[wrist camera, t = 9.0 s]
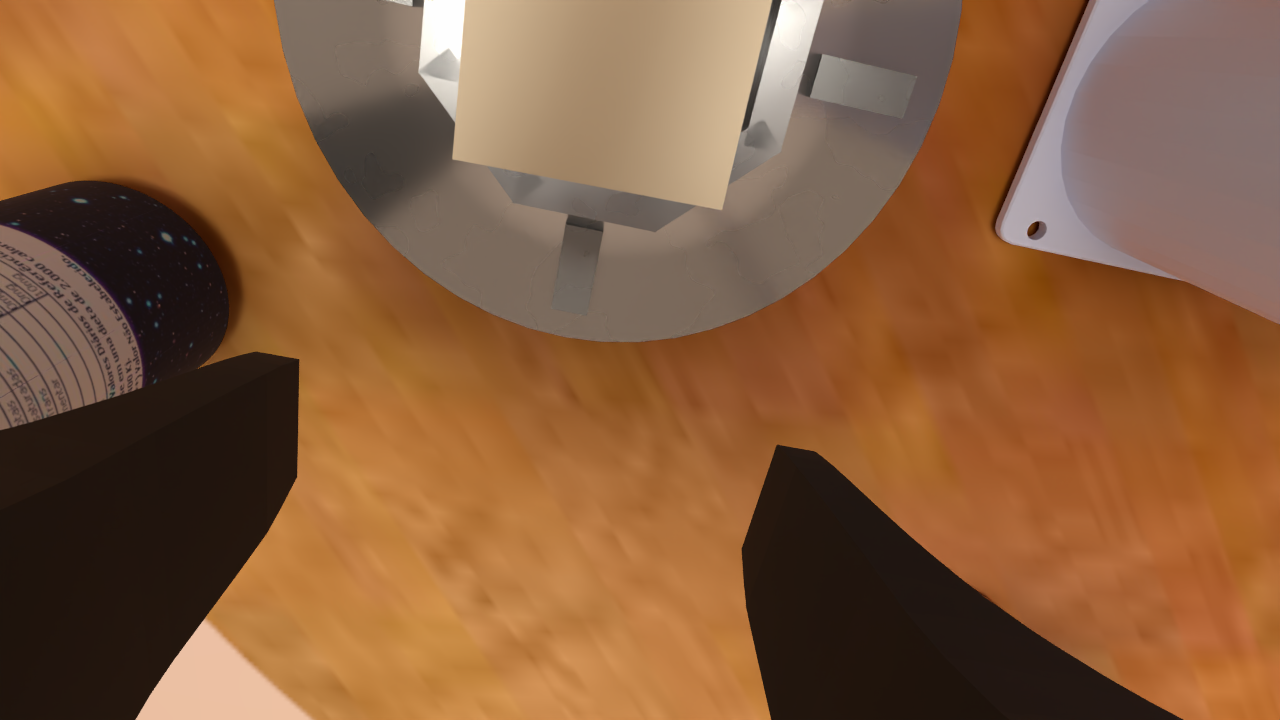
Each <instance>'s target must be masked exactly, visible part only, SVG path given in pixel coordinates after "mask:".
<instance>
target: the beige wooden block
mask: <svg viewBox="0 0 1280 720" xmlns="http://www.w3.org/2000/svg"><path fill="white" fill-rule="evenodd" d="M771 3H772V0H465V10H464V22H463V34H462V47H461V59H460V71H459V84H458V96H457V108H456V120H455V133H454V145H453V157H452V159H454V160H459V161H464V162H470V163H475V164H480V165H485V166H491V167H496V168H501V169H507V170H512V171H517V172H522V173H528V174H533V175H538V176H543V177H549V178H554V179H559V180H565V181H570V182H575V183H580V184H586V185H591V186H596V187H602V188H607V189H612V190H617V191H623V192H628V193H633V194H638V195H644V196H649V197H654V198H660V199H665V200H670V201H675V202H681V203H686V204H691V205H697V206H702V207H707V208H712V209H718V210H722V208H723V204H724V199H725V195H726V191H727V187H728V183H729V179H730V174H731V170H732V166H733V162H734V158H735V154H736V149H737V145H738V141H739V137H740V133H741V128H742V124H743V120H744V116H745V112H746V108H747V103H748V99H749V95H750V91H751V87H752V83H753V78H754V74H755V70H756V66H757V62H758V58H759V53H760V49H761V45H762V41H763V37H764V33H765V28H766V24H767V20H768V16H769V12H770V8H771Z"/></svg>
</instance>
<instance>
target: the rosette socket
mask: <svg viewBox="0 0 1280 720" xmlns="http://www.w3.org/2000/svg"><path fill="white" fill-rule="evenodd" d="M274 3H275V8H276V14H277V20H278V25H279V31H280V36H281V42H282V48H283V52H284V55H285V59H286V62H287V65H288V69H289V72H290V75H291V79H292V82H293V85H294V89H295V92H296V95H297V98H298V100H299V103H300V105H301V107H302V110H303V112H304V114H305V117H306V119H307V121H308V124H309V126H310V128H311V131H312V133H313V135H314V138H315V140H316V142H317V144H318V145H319V147H320V149H321V151H322V152H323V154H324V156H325V158H326V159H327V161H328V163H329V165H330V166H331V168H332V170H333V172H334V173H335V175H336V177H337V179H338V180H339V182H340V183H341V184H342V186H343V187H344V188H345V190H346V191H347V193H348V194H349V195H350V197H351V198H352V199H353V201H354V202H355V203H356V205H357V206H358V208H359V209H360V210H361V212H362V213H363V214H364V216H365V217H366V218H367V219H368V220H369V221H370V222H371V223H372V224H373V225H374V227H375V228H376V229H377V230H378V231H379V232H380V233H381V234H382V235H383V236H384V237H385V238H386V240H387V241H388V242H389V243H390V244H391V245H392V246H393V247H394V248H395V249H396V250H398V251H399V252H400V253H401V254H402V255H403V256H404V257H406V258H407V259H408V260H409V261H410V262H411V263H413V264H414V265H415V266H416V267H417V268H418V269H419V270H421V271H422V272H423V273H424V274H426V275H427V276H429V277H430V278H431V279H433V280H434V281H436V282H437V283H439V284H440V285H442V286H443V287H445V288H446V289H448V290H449V291H451V292H452V293H453V294H455V295H456V296H458V297H460V298H462V299H464V300H466V301H468V302H470V303H471V304H473V305H475V306H477V307H479V308H481V309H483V310H485V311H487V312H489V313H491V314H493V315H495V316H498V317H501V318H503V319H506V320H508V321H511V322H514V323H516V324H519V325H522V326H524V327H527V328H530V329H534V330H538V331H542V332H546V333H550V334H554V335H558V336H562V337H568V338H575V339H583V340H591V341H599V342H644V341H652V340H661V339H670V338H677V337H681V336H686V335H690V334H694V333H698V332H702V331H707V330H711V329H714V328H717V327H719V326H722V325H725V324H727V323H730V322H733V321H736V320H738V319H741V318H744V317H746V316H749V315H751V314H753V313H755V312H757V311H758V310H760V309H762V308H764V307H766V306H768V305H770V304H772V303H774V302H776V301H778V300H780V299H782V298H783V297H785V296H786V295H788V294H789V293H791V292H792V291H794V290H795V289H797V288H798V287H800V286H801V285H803V284H804V283H806V282H807V281H809V280H810V279H812V278H813V277H815V276H816V275H817V274H818V273H819V272H821V271H822V270H823V269H824V268H825V267H826V266H828V265H829V264H830V263H831V262H832V261H833V260H835V259H836V258H837V257H838V256H839V255H840V254H842V253H843V252H844V251H845V250H846V249H847V248H848V247H849V246H850V245H851V244H852V243H853V242H854V240H855V239H856V238H857V237H858V236H859V235H860V234H861V233H862V232H863V231H864V230H865V229H866V228H867V226H868V225H869V224H870V223H871V222H872V221H873V220H874V219H875V217H876V216H877V215H878V213H879V212H880V210H881V209H882V208H883V206H884V205H885V204H886V202H887V201H888V200H889V198H890V197H891V195H892V194H893V193H894V191H895V190H896V189H897V187H898V186H899V184H900V183H901V181H902V179H903V177H904V176H905V174H906V172H907V170H908V169H909V167H910V165H911V163H912V162H913V160H914V158H915V156H916V155H917V153H918V151H919V149H920V148H921V146H922V143H923V141H924V139H925V136H926V134H927V132H928V129H929V127H930V125H931V122H932V120H933V118H934V115H935V113H936V111H937V108H938V106H939V103H940V100H941V97H942V93H943V90H944V87H945V83H946V80H947V77H948V73H949V70H950V67H951V63H952V60H953V55H954V49H955V44H956V38H957V33H958V27H959V22H960V16H961V10H962V0H772V3H771V8H770V12H769V16H768V20H767V24H766V28H765V33H764V37H763V41H762V45H761V49H760V53H759V58H758V62H757V66H756V70H755V74H754V78H753V83H752V87H751V91H750V95H749V99H748V103H747V108H746V112H745V116H744V120H743V124H742V128H741V133H740V137H739V141H738V145H737V149H736V154H735V158H734V162H733V166H732V170H731V174H730V179H729V183H728V187H727V191H726V195H725V199H724V204H723V208H722V210H718V209H712V208H707V207H702V206H697V205H691V204H686V203H681V202H675V201H670V200H665V199H660V198H654V197H649V196H644V195H638V194H633V193H628V192H623V191H617V190H612V189H607V188H602V187H596V186H591V185H586V184H580V183H575V182H570V181H565V180H559V179H554V178H549V177H543V176H538V175H533V174H528V173H522V172H517V171H512V170H507V169H501V168H496V167H491V166H485V165H480V164H475V163H470V162H464V161H459V160H454V159H452V157H453V145H454V133H455V120H456V108H457V96H458V84H459V71H460V59H461V47H462V34H463V22H464V10H465V0H274Z"/></svg>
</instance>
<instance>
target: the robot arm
mask: <svg viewBox="0 0 1280 720" xmlns="http://www.w3.org/2000/svg"><path fill="white" fill-rule="evenodd" d="M1036 221H1039V229H1038V230H1037V232H1036V233H1035V234H1033V235H1031V236H1028V235H1027V230H1028V228H1029V226H1030V225H1031V224H1032V223H1034V222H1036ZM995 229H996V234H997V235H998V236H999V237H1000V239H1002V240H1004V241H1006V242H1008V243H1010V244H1013V245H1018V246H1023V247H1027V248H1032V249H1037V250H1041V251H1046V252H1051V253H1055V254H1060V255H1065V256H1069V257H1074V258H1079V259H1083V260H1088V261H1093V262H1097V263H1102V264H1107V265H1111V266H1116V267H1121V268H1125V269H1130V270H1135V271H1139V272H1144V273H1149V274H1153V275H1158V276H1162V277H1167V278H1172V279H1176V280H1181V281H1186V282H1188V283H1190V284H1192V285H1195V286H1197V287H1199V288H1201V289H1203V290H1205V291H1208V292H1210V293H1212V294H1214V295H1216V296H1219V297H1221V298H1223V299H1225V300H1227V301H1229V302H1232V303H1234V304H1236V305H1238V306H1240V307H1243V308H1245V309H1247V310H1249V311H1251V312H1253V313H1256V314H1258V315H1260V316H1262V317H1264V318H1267V319H1269V320H1271V321H1273V322H1275V323H1277V324H1280V0H1089V3H1088V5H1087V7H1086V10H1085V12H1084V14H1083V17H1082V19H1081V22H1080V24H1079V26H1078V29H1077V31H1076V33H1075V36H1074V38H1073V41H1072V43H1071V45H1070V48H1069V50H1068V52H1067V55H1066V57H1065V60H1064V62H1063V64H1062V67H1061V69H1060V71H1059V74H1058V76H1057V78H1056V81H1055V83H1054V86H1053V88H1052V90H1051V93H1050V95H1049V97H1048V100H1047V102H1046V105H1045V107H1044V109H1043V112H1042V114H1041V116H1040V119H1039V121H1038V124H1037V126H1036V128H1035V131H1034V133H1033V135H1032V138H1031V140H1030V142H1029V145H1028V147H1027V150H1026V152H1025V154H1024V157H1023V159H1022V161H1021V164H1020V166H1019V169H1018V171H1017V173H1016V176H1015V178H1014V180H1013V183H1012V185H1011V187H1010V190H1009V192H1008V195H1007V197H1006V199H1005V202H1004V204H1003V206H1002V209H1001V211H1000V214H999V216H998V218H997V221H996V226H995ZM298 397H299V359H294V358H288V357H283V356H277V355H272V354H266V353H260V352H252V353H248V354H243V355H240V356H236V357H233V358H229V359H226V360H223V361H220V362H217V363H213V364H210V365H207V366H204V367H201V368H199V369H196V370H193V371H190V372H187V373H184V374H181V375H178V376H175V377H172V378H169V379H166V380H163V381H160V382H157V383H154V384H152V385H149V386H146V387H143V388H140V389H137V390H134V391H131V392H128V393H125V394H122V395H119V396H116V397H112V398H109V399H106V400H103V401H99V402H96V403H93V404H89V405H86V406H83V407H79V408H76V409H73V410H70V411H66V412H63V413H60V414H56V415H53V416H50V417H46V418H43V419H40V420H37V421H33V422H29V423H26V424H22V425H18V426H15V427H11V428H7V429H3V430H0V720H135V719H136V718H137V716H138V714H139V713H140V711H141V709H142V708H143V706H144V704H145V702H146V701H147V699H148V697H149V696H150V694H151V693H152V691H153V690H154V688H155V687H156V685H157V684H158V682H159V681H160V679H161V678H162V676H163V675H164V673H165V672H166V671H167V669H168V668H169V666H170V665H171V663H172V662H173V660H174V659H175V657H176V656H177V655H178V654H179V652H180V651H181V650H182V648H183V647H184V645H185V644H186V643H187V641H188V640H189V639H190V637H191V636H192V635H193V633H194V632H195V631H196V629H197V628H198V626H199V625H200V624H201V622H202V621H203V620H204V619H205V617H206V616H207V614H208V613H209V612H210V610H211V609H212V608H213V606H214V605H215V604H216V602H217V601H218V600H219V598H220V597H221V596H222V594H223V593H224V592H225V590H226V589H227V587H228V586H229V585H230V583H231V582H232V581H233V579H234V578H235V577H236V575H237V574H238V573H239V571H240V570H241V568H242V567H243V566H244V564H245V563H246V562H247V560H248V559H249V557H250V556H251V555H252V553H253V552H254V551H255V549H256V548H257V546H258V545H259V544H260V542H261V541H262V539H263V538H264V537H265V535H266V534H267V532H268V530H269V529H270V527H271V525H272V523H273V521H274V520H275V518H276V516H277V514H278V512H279V511H280V509H281V507H282V505H283V503H284V501H285V499H286V497H287V495H288V493H289V491H290V489H291V487H292V486H293V484H294V482H295V480H296V478H297V454H298ZM742 561H743V576H744V588H745V598H746V608H747V613H748V618H749V622H750V627H751V631H752V636H753V641H754V645H755V650H756V654H757V659H758V663H759V667H760V672H761V676H762V681H763V685H764V689H765V694H766V698H767V703H768V707H769V711H770V716H771V720H1183V719H1181V718H1179V717H1177V716H1175V715H1174V714H1172V713H1170V712H1168V711H1166V710H1164V709H1162V708H1160V707H1158V706H1157V705H1155V704H1153V703H1151V702H1149V701H1147V700H1146V699H1144V698H1142V697H1140V696H1138V695H1137V694H1135V693H1133V692H1131V691H1130V690H1128V689H1126V688H1124V687H1123V686H1121V685H1119V684H1117V683H1116V682H1114V681H1112V680H1110V679H1109V678H1107V677H1105V676H1104V675H1102V674H1100V673H1099V672H1097V671H1096V670H1094V669H1092V668H1091V667H1089V666H1087V665H1086V664H1084V663H1083V662H1081V661H1079V660H1078V659H1076V658H1074V657H1073V656H1071V655H1070V654H1068V653H1066V652H1065V651H1063V650H1061V649H1060V648H1058V647H1056V646H1055V645H1053V644H1052V643H1050V642H1049V641H1047V640H1046V639H1044V638H1043V637H1041V636H1040V635H1038V634H1037V633H1035V632H1034V631H1032V630H1031V629H1029V628H1028V627H1026V626H1025V625H1023V624H1022V623H1021V622H1019V621H1018V620H1016V619H1015V618H1014V617H1012V616H1011V615H1009V614H1008V613H1007V612H1005V611H1004V610H1002V609H1001V608H1000V607H998V606H997V605H995V604H994V603H992V602H991V601H990V600H988V599H987V598H985V597H984V596H983V595H981V594H980V593H979V592H977V591H976V590H975V589H974V588H972V587H971V586H970V585H968V584H967V583H966V582H964V581H963V580H962V579H961V578H959V577H958V576H957V575H956V574H954V573H953V572H952V571H951V570H950V569H948V568H947V567H946V566H945V565H944V564H942V563H941V562H940V561H939V560H937V559H936V558H935V557H934V556H933V555H931V554H930V553H929V552H928V551H927V550H925V549H924V548H923V547H922V546H921V545H920V544H918V543H917V542H916V541H915V540H914V539H913V538H912V537H910V536H909V535H908V534H907V533H906V532H905V531H904V530H903V529H901V528H900V527H899V526H898V525H897V524H896V523H895V522H894V521H893V520H891V519H890V518H889V517H888V516H887V515H886V514H885V513H884V512H883V511H882V510H880V509H879V508H878V507H877V506H876V505H875V504H874V503H873V502H872V501H871V500H870V499H869V498H868V497H866V496H865V495H864V494H863V493H862V492H861V491H860V490H859V489H858V488H857V487H856V486H855V485H854V484H852V483H851V482H850V481H849V480H848V479H847V478H846V477H845V476H844V475H843V474H842V473H840V472H839V471H838V470H837V469H836V468H835V467H834V466H833V465H831V464H830V463H829V462H828V461H827V460H825V459H824V458H823V457H822V456H820V455H819V454H818V453H816V452H815V451H809V450H803V449H798V448H792V447H787V446H781V445H777V446H776V449H775V452H774V455H773V458H772V461H771V464H770V467H769V470H768V473H767V476H766V479H765V482H764V485H763V488H762V491H761V493H760V496H759V499H758V502H757V505H756V508H755V511H754V514H753V517H752V520H751V523H750V526H749V529H748V532H747V535H746V538H745V541H744V544H743V547H742Z"/></svg>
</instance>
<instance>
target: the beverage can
mask: <svg viewBox="0 0 1280 720" xmlns="http://www.w3.org/2000/svg"><path fill="white" fill-rule="evenodd" d="M228 317H229V300H228V293H227V288H226V284H225V281H224V278H223V275H222V272H221V270H220V268H219V266H218V264H217V261H216V260H215V258H214V256H213V254H212V253H211V251H210V250H209V248H208V247H207V245H206V244H205V243H204V241H203V240H202V239H201V237H200V236H199V235H198V234H197V233H196V232H195V230H194V229H193V228H192V227H191V226H190V225H189V224H188V223H186V222H185V221H184V220H183V219H182V218H181V217H180V216H178V215H177V214H176V213H175V212H173V211H172V210H171V209H169V208H168V207H166V206H165V205H163V204H162V203H160V202H158V201H157V200H155V199H153V198H151V197H149V196H147V195H145V194H143V193H141V192H139V191H136V190H133V189H131V188H128V187H124V186H121V185H117V184H113V183H107V182H100V181H75V182H68V183H64V184H60V185H56V186H52V187H49V188H45V189H42V190H38V191H34V192H31V193H27V194H24V195H20V196H17V197H13V198H9V199H6V200H2V201H0V430H3V429H7V428H11V427H15V426H18V425H22V424H26V423H29V422H33V421H37V420H40V419H43V418H46V417H50V416H53V415H56V414H60V413H63V412H66V411H70V410H73V409H76V408H79V407H83V406H86V405H89V404H93V403H96V402H99V401H103V400H106V399H109V398H112V397H116V396H119V395H122V394H125V393H128V392H131V391H134V390H137V389H140V388H143V387H146V386H149V385H152V384H154V383H157V382H160V381H163V380H166V379H169V378H172V377H175V376H178V375H181V374H184V373H187V372H190V371H193V370H196V369H197V368H198V367H200V366H201V365H202V364H204V363H205V362H206V361H207V360H208V359H209V358H210V357H211V356H212V355H213V354H214V353H215V351H216V350H217V348H218V347H219V345H220V343H221V342H222V339H223V337H224V335H225V332H226V328H227V324H228Z"/></svg>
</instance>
